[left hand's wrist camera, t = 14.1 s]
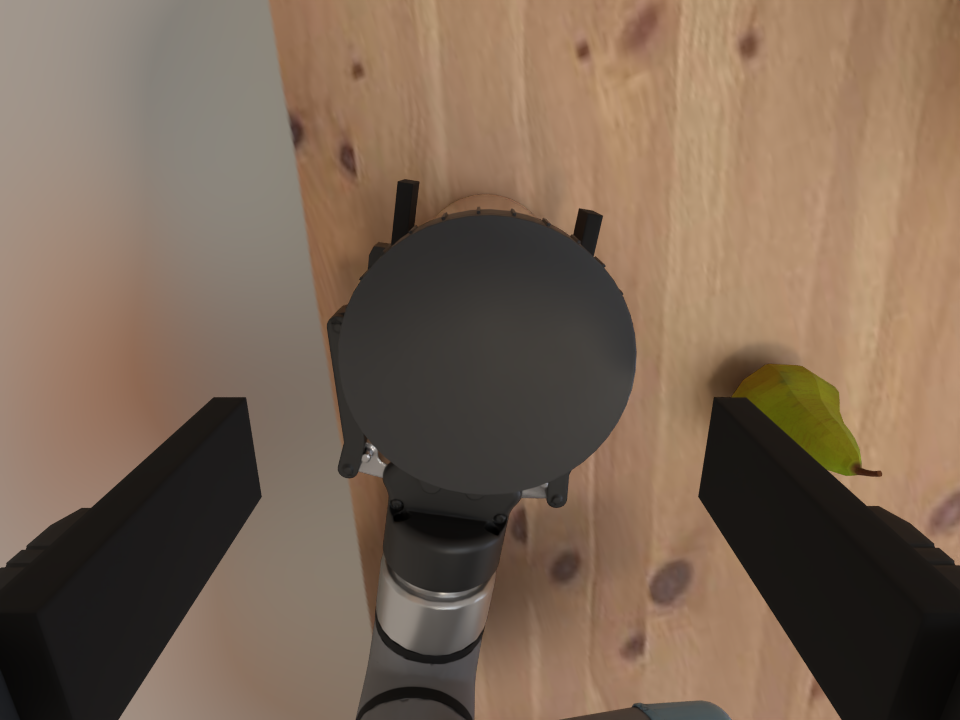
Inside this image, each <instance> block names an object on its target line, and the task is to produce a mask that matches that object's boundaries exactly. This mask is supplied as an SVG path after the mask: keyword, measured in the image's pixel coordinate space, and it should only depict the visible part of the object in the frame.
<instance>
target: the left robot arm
mask: <svg viewBox="0 0 960 720" xmlns="http://www.w3.org/2000/svg"><path fill="white" fill-rule="evenodd" d="M261 497H262V496H261V489H260V483H259V477H258V470H257V464H256V458H255V452H254V445H253V439H252V432H251V426H250V420H249V413H248V407H247V401H246V397H214V398H212V399H211V400H210V401H209V402H208V403H207V404H206V405H205V406H204V407H203V408H201V409H200V410H199V411H198V412H197V413H196V414H195V415H194V416H193V417H191V418H190V419H189V420H188V421H187V422H186V423H185V424H184V425H183V426H181V427H180V428H179V429H178V430H177V431H176V432H175V433H174V434H173V435H171V436H170V437H169V438H168V439H167V440H166V441H165V442H164V443H163V444H161V445H160V446H159V447H158V448H157V449H156V450H155V451H154V452H153V453H152V454H150V455H149V456H148V457H147V458H146V459H145V460H144V461H143V462H142V463H140V464H139V465H138V466H137V467H136V468H135V469H134V470H133V471H132V472H130V473H129V474H128V475H127V476H126V477H125V478H124V479H123V480H122V481H120V482H119V483H118V484H117V485H116V486H115V487H114V488H113V489H112V490H110V491H109V492H108V493H107V494H106V495H105V496H104V497H103V498H102V499H101V500H99V501H98V502H97V503H96V504H95V505H94V506H93V507H92V508H81V509H79V510H77V511H76V512H74V513H72V514H70V515H68V516H67V517H65V518H63V519H61V520H59V521H57V522H56V523H54V524H52V525H50V526H49V527H48V528H47V529H46V530H44V531H43V532H42V533H41V534H40V535H39V536H37V537H36V538H35V539H34V540H33V541H32V542H30V543H29V544H28V545H27V548H26V550H21V551H20V552H19V553H18V554H17V555H15V556H14V557H13V558H12V559H11V560H9V561H8V562H7V563H6V564H7V565H6V567H5V568H0V720H118V719H119V718H120V716H121V715H122V713H123V712H124V710H125V709H126V707H127V705H128V704H129V702H130V701H131V699H132V698H133V696H134V695H135V693H136V691H137V690H138V688H139V687H140V685H141V684H142V682H143V681H144V679H145V677H146V676H147V674H148V673H149V671H150V670H151V668H152V667H153V665H154V663H155V662H156V660H157V659H158V657H159V656H160V654H161V653H162V651H163V649H164V648H165V646H166V645H167V643H168V642H169V640H170V639H171V637H172V635H173V634H174V632H175V631H176V629H177V628H178V626H179V625H180V623H181V621H182V620H183V618H184V617H185V615H186V614H187V612H188V611H189V609H190V607H191V606H192V604H193V603H194V601H195V600H196V598H197V597H198V595H199V593H200V592H201V590H202V589H203V587H204V586H205V584H206V583H207V581H208V579H209V578H210V576H211V575H212V573H213V572H214V570H215V569H216V567H217V565H218V564H219V562H220V561H221V559H222V558H223V556H224V555H225V553H226V551H227V550H228V548H229V547H230V545H231V544H232V542H233V541H234V539H235V537H236V536H237V534H238V533H239V531H240V530H241V528H242V527H243V525H244V523H245V522H246V520H247V519H248V517H249V516H250V514H251V513H252V511H253V509H254V508H255V506H256V505H257V503H258V502H259V500H260V499H261ZM698 497H699V499H700V500H701V502H702V503H703V505H704V506H705V508H706V510H707V511H708V513H709V514H710V516H711V517H712V519H713V520H714V522H715V524H716V525H717V527H718V528H719V530H720V531H721V533H722V534H723V536H724V538H725V539H726V541H727V542H728V544H729V545H730V547H731V548H732V550H733V551H734V553H735V555H736V556H737V558H738V559H739V561H740V562H741V564H742V565H743V567H744V569H745V570H746V572H747V573H748V575H749V576H750V578H751V579H752V581H753V583H754V584H755V586H756V587H757V589H758V590H759V592H760V593H761V595H762V597H763V598H764V600H765V601H766V603H767V604H768V606H769V607H770V609H771V611H772V612H773V614H774V615H775V617H776V618H777V620H778V621H779V623H780V625H781V626H782V628H783V629H784V631H785V632H786V634H787V635H788V637H789V639H790V640H791V642H792V643H793V645H794V646H795V648H796V649H797V651H798V653H799V654H800V656H801V657H802V659H803V660H804V662H805V663H806V665H807V667H808V668H809V670H810V671H811V673H812V674H813V676H814V677H815V679H816V681H817V682H818V684H819V685H820V687H821V688H822V690H823V691H824V693H825V695H826V696H827V698H828V699H829V701H830V702H831V704H832V705H833V707H834V709H835V710H836V712H837V713H838V715H839V716H840V718H841V719H842V720H960V565H955V563H954V560H953V559H951V558H950V557H949V556H948V555H947V554H946V553H944V552H943V551H942V550H941V549H940V548H935V547H934V543H933V542H931V541H930V540H929V539H928V538H927V537H926V536H924V535H923V534H922V533H921V532H920V531H919V530H917V529H916V528H915V527H914V526H913V525H912V524H910V523H909V522H907V521H905V520H903V519H901V518H899V517H898V516H896V515H894V514H892V513H890V512H889V511H887V510H885V509H883V508H881V507H879V506H866V505H865V504H864V503H863V502H862V501H861V500H859V499H858V498H857V497H856V496H855V495H854V494H853V493H852V492H851V491H850V490H848V489H847V488H846V487H845V486H844V485H843V484H842V483H841V482H840V481H838V480H837V479H836V478H835V477H834V476H833V475H832V474H831V473H830V472H828V471H827V470H826V469H825V468H824V467H823V466H822V465H821V464H820V463H818V462H817V461H816V460H815V459H814V458H813V457H812V456H811V455H810V454H808V453H807V452H806V451H805V450H804V449H803V448H802V447H801V446H800V445H799V444H797V443H796V442H795V441H794V440H793V439H792V438H791V437H790V436H789V435H787V434H786V433H785V432H784V431H783V430H782V429H781V428H780V427H779V426H777V425H776V424H775V423H774V422H773V421H772V420H771V419H770V418H769V417H767V416H766V415H765V414H764V413H763V412H762V411H761V410H760V409H759V408H757V407H756V406H755V405H754V404H753V403H752V402H751V401H750V400H749V399H748V398H746V397H714V401H713V407H712V413H711V420H710V426H709V432H708V439H707V445H706V451H705V458H704V464H703V470H702V477H701V483H700V489H699V496H698Z"/></svg>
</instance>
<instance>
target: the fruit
mask: <svg viewBox="0 0 960 720" xmlns="http://www.w3.org/2000/svg"><path fill="white" fill-rule="evenodd" d="M732 397H746V398H748V399H749V400H750V401H751V402H752V403H753V404H754V405H755V406H756V407H757V408H759V409H760V410H761V411H762V412H763V413H764V414H765V415H766V416H767V417H769V418H770V419H771V420H772V421H773V422H774V423H775V424H776V425H777V426H779V427H780V428H781V429H782V430H783V431H784V432H785V433H786V434H787V435H789V436H790V437H791V438H792V439H793V440H794V441H795V442H796V443H797V444H799V445H800V446H801V447H802V448H803V449H804V450H805V451H806V452H807V453H808V454H810V455H811V456H812V457H813V458H814V459H815V460H816V461H817V462H818V463H820V464H821V465H822V466H823V467H824V468H825V469H826V470H829V471H832V472H836V473H839V474H842V475H845V476H853V475H864V476H872V477H881V476H882V472H881V471H869V470H865V469H862V464H861V456H860V450H859V447H858V445H857V443H856V440H855V438H854V437H853V435H852V433H851V432H850V430H849V429H848V428H847V427H846V425H845V424H844V422H843V419H842V417H841V414H840V402H839V392H838V390H837V389H836V388H835V387H834V386H833V385H831V384H829V383H828V382H826V381H825V380H823V379H822V378H820V377H818V376H817V375H815V374H814V373H812V372H811V371H809V370H807V369H806V368H804V367H803V366H798V365H781V364H766V365H764V366H763V367H761V368H760V369H758V370H757V371H755V372H754V373H753V374H751V375H750V376H748V377H747V378H745V379H744V380H743V381H742V382H741V384H740V385H739V387H738V388H737V390H736V391H735V392H734V394H733V395H732Z"/></svg>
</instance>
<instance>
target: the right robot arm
mask: <svg viewBox="0 0 960 720" xmlns="http://www.w3.org/2000/svg"><path fill="white" fill-rule="evenodd" d="M418 189H419V181H413V180H407V179H404V180H401V181H398V184H397V193H396V203H395V213H394V222H393V232H392V242H391V244H387V243H381V242H378V243H377V244H376V245H375V246H374V247H373V249H372V251H371V253H370V255H369V263H368V269H370V268H371V267H372V266H373V264H374V263H375V262H376V261H377V260H378V259H379V258H380V257H381V256H382V254H381V252H382V251H383V250H384V249H385V248H386V247H388V246H389V245H391V246H393V245H394V244H395V243H396V242H397V241H398V240H399V239H400V238H402V237H403V236H405V235H406V234H408V233H409V231H410V230H411V229H412V228H413V227H414V223H415V215H416V206H417V198H418ZM602 218H603V216H602V215H600V214H598V213H596V212H594V211H592V210H586V209H580V208H579V211H578V216H577V220H576V225H575V229H574V234H573V235H574V236H575V237H576V238H577V239H578V240H579V241H581V243H580V244H581V245H582V246H583V247H584V248H585V249H586V250H587V251H588V252H589V253H590V254H591V255H592V256H593V257H594V252H595V248H596V244H597V239H598V235H599V231H600V226H601V222H602ZM346 306H347V305H344V306H342V307H341V308H340V309H339V310H338V311H337V312H336V313H335V314H334V315H333V316H332V317H331V318H330V319H329V321H328V323H327V331H328V338H329V345H330V352H331V358H332V365H333V372H334V378H335V385H336V392H337V398H338V405H339V412H340V418H341V425H342V432H343V438H344V445H343V449H342V453H341V457H340V461H339V465H338V472H339V474H340V475H341V476H343V477H345V478H353V477H355V476H356V475H357V473H358V472H362V473H366V474H370V475H373V476H377V477H381V478H383V482H384V484H385V486H386V488H387V491H388V495H389V500H388V508H387V517H386V525H385V533H384V541H383V555H382V559H381V565H380V574H379V582H378V591H377V600H376V611H375V623H374V629H373V636H372V642H371V649H370V655H369V661H368V667H367V672H366V677H365V681H364V685H363V690H362V694H361V698H360V703H359V707H358V711H357V716H356V720H474V709H475V678H476V670H477V663H478V657H479V652H480V646H481V640H482V635H483V632H484V628H485V623H486V620H487V617H488V612H489V607H490V603H491V598H492V593H493V589H494V584H495V578H496V569H497V567H498V564H499V559H500V555H501V550H502V545H503V541H504V536H505V531H506V526H507V522H508V517H509V514H510V512H511V510H512V509H513V507H514V506H515V505H516V504H517V503H518V502H519V501H520V499H521V498H547V503H548V504H549V505H550V506H551V507H554V508H559V507H562V506H564V504H565V503H566V501H567V493H568V481H569V474H570V472H571V471H569V472H568V473H566V474H564V475H562V476H560V477H559V478H557V479H555V480H553V481H550V482H548V483H545V484H543V485H540V486H538V487H535V488H531V489H527V490H523V491H520V492H513V493H507V494H495V495H478V494H466V493H460V492H455V491H450V490H446V489H443V488H440V487H436V486H433V485H430V484H428V483H426V482H424V481H421V480H419V479H417V478H415V477H413V476H411V475H410V474H408V473H406V472H405V471H403V470H401V469H400V468H398V467H397V466H396V465H394V464H393V463H392V462H390V461H389V460H388V459H387V458H385V457H384V456H383V455H382V454H381V453H380V452H379V451H378V450H377V449H376V448H375V447H374V446H373V445H372V443H371V442H370V441H369V440H368V438H367V437H366V436H365V435H364V433H363V432H362V431H361V429H360V427H359V426H358V424H357V422H356V421H355V419H354V417H353V415H352V413H351V411H350V409H349V406H348V404H347V402H346V399H345V396H344V392H343V389H342V385H341V381H340V374H339V367H338V343H339V336H340V329H341V325H342V321H343V318H344V314H345V311H346V309H345V308H346ZM561 720H731V718H730V717H729V716H728V714H727V713H726V712H725V711H724V710H722V709H721V708H720V707H718V706H717V705H715V704H713V703H711V702H707V701H686V702H671V703H657V704H642V703H636V704H633V706H632V707H631V708H625V709H620V710H614V711H608V712H602V713H596V714H591V715H585V716H579V717H573V718H567V719H561Z"/></svg>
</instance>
